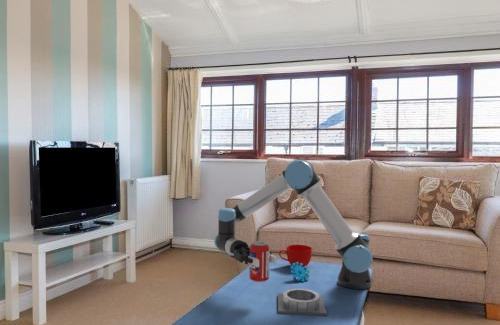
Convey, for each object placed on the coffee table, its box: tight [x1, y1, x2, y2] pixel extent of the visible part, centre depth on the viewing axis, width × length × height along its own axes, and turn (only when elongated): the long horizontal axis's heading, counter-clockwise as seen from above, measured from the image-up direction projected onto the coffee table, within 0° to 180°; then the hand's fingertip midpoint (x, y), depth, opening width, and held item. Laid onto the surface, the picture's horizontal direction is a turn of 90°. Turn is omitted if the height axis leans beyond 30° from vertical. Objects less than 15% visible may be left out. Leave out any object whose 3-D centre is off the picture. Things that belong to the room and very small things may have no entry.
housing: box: [277, 288, 328, 316], centre depth 165 cm, size 18×18×4 cm
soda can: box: [248, 240, 271, 283], centre depth 165 cm, size 8×8×15 cm
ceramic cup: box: [278, 244, 313, 268], centre depth 214 cm, size 13×17×10 cm
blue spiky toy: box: [290, 262, 311, 283], centre depth 196 cm, size 11×6×10 cm
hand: (267, 261), depth 161 cm, fingers closed on soda can, 7 cm apart
